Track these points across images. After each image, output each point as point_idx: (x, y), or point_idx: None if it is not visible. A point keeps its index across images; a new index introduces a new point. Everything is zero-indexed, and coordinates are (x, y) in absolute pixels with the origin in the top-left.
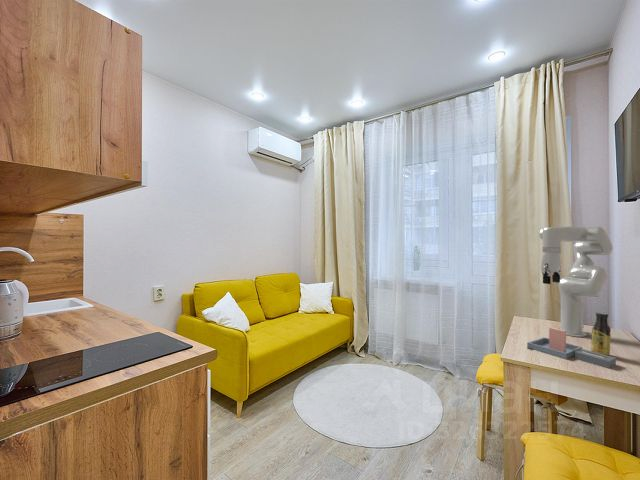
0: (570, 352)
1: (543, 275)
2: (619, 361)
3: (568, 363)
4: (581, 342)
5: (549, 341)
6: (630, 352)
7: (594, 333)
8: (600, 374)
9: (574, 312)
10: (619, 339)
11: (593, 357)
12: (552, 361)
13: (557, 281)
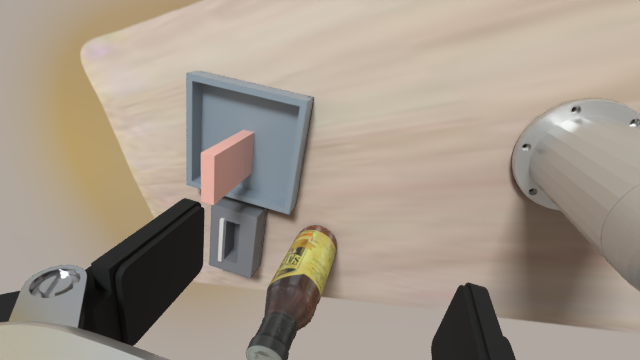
0: None
1: (53, 281)
2: None
3: (183, 183)
4: (433, 196)
5: (230, 137)
6: (420, 301)
7: (275, 274)
8: None
9: (583, 228)
10: (591, 295)
11: (210, 239)
12: (161, 152)
13: (440, 341)
